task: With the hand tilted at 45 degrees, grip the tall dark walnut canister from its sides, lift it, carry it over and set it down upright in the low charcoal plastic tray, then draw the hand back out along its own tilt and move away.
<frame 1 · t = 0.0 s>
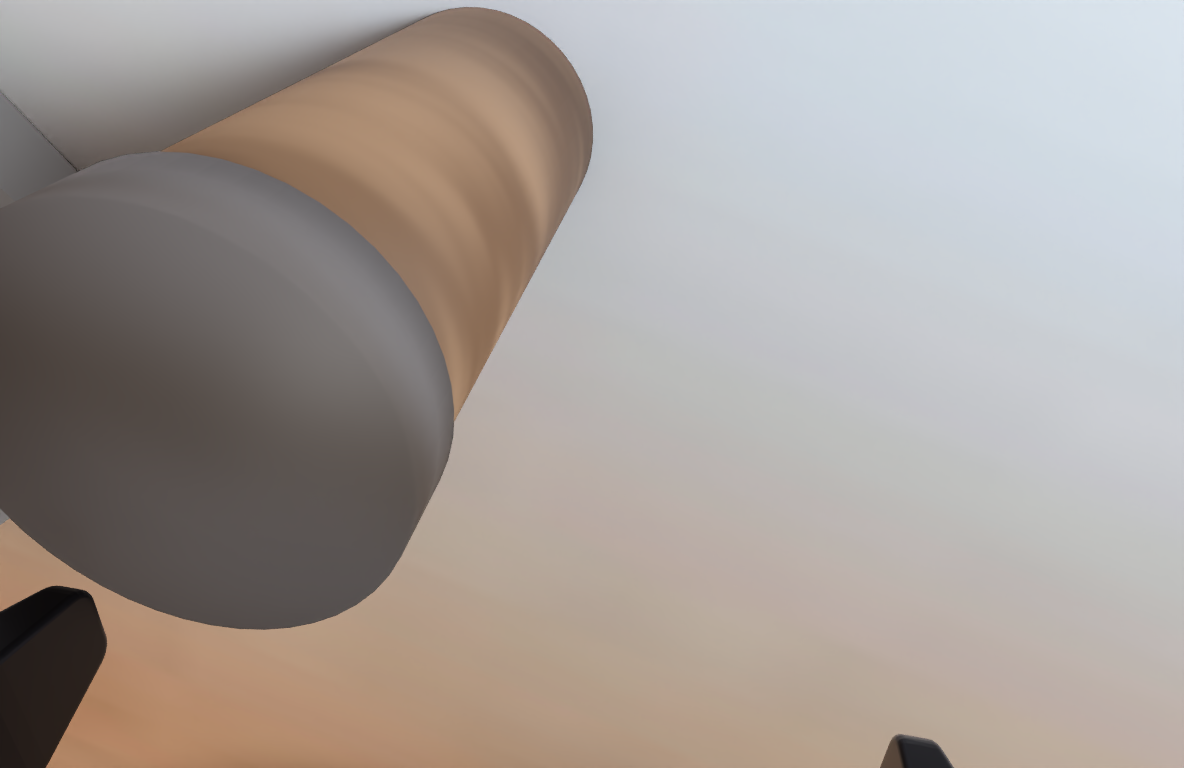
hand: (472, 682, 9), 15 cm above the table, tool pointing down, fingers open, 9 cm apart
walnut canister: (481, 129, 21), on the table
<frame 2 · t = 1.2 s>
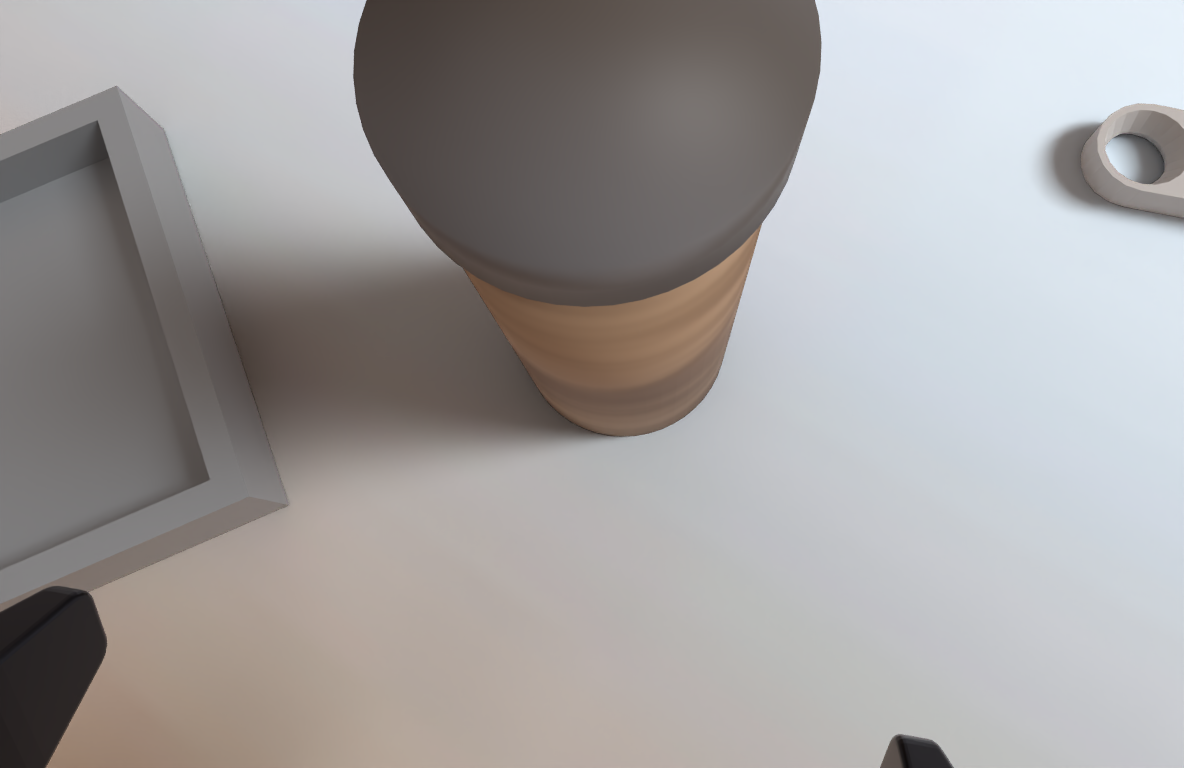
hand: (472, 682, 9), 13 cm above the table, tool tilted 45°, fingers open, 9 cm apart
tray: (38, 384, 25), on the table
walnut canister: (624, 337, 24), on the table
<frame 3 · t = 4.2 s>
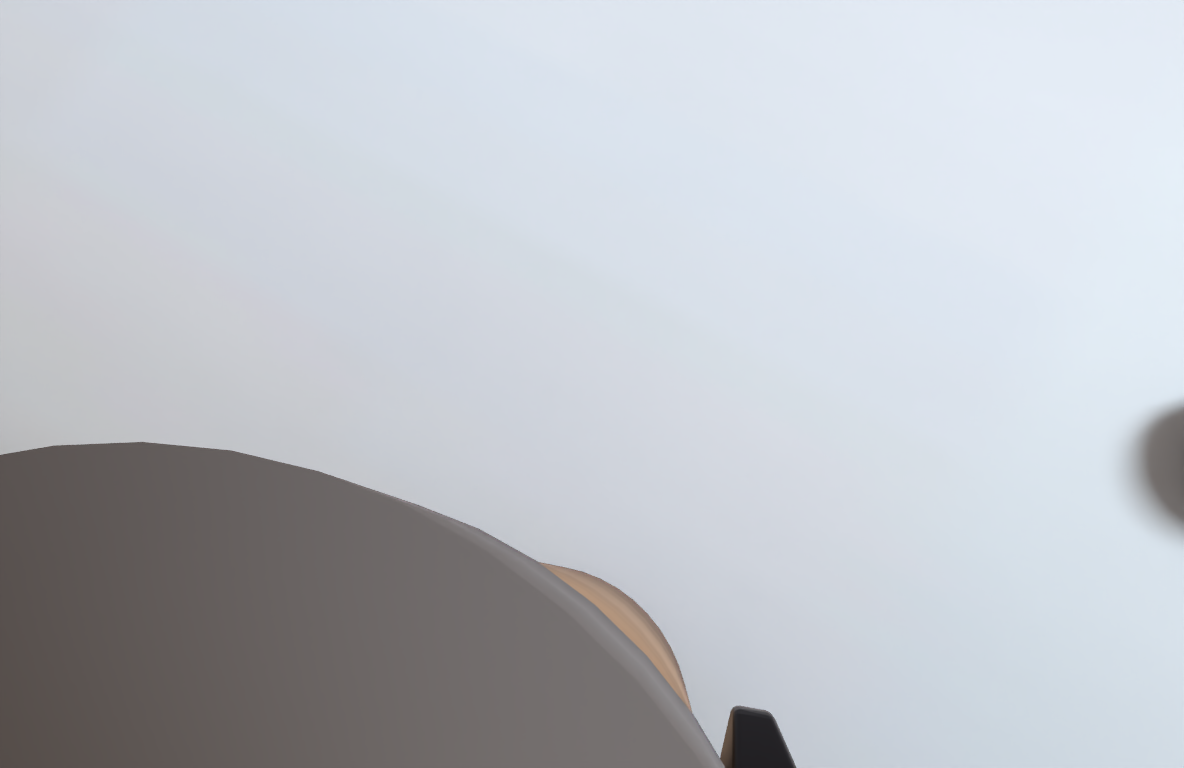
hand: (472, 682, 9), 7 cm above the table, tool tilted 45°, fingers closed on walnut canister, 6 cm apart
walnut canister: (538, 719, 16), on the table, touching gripper
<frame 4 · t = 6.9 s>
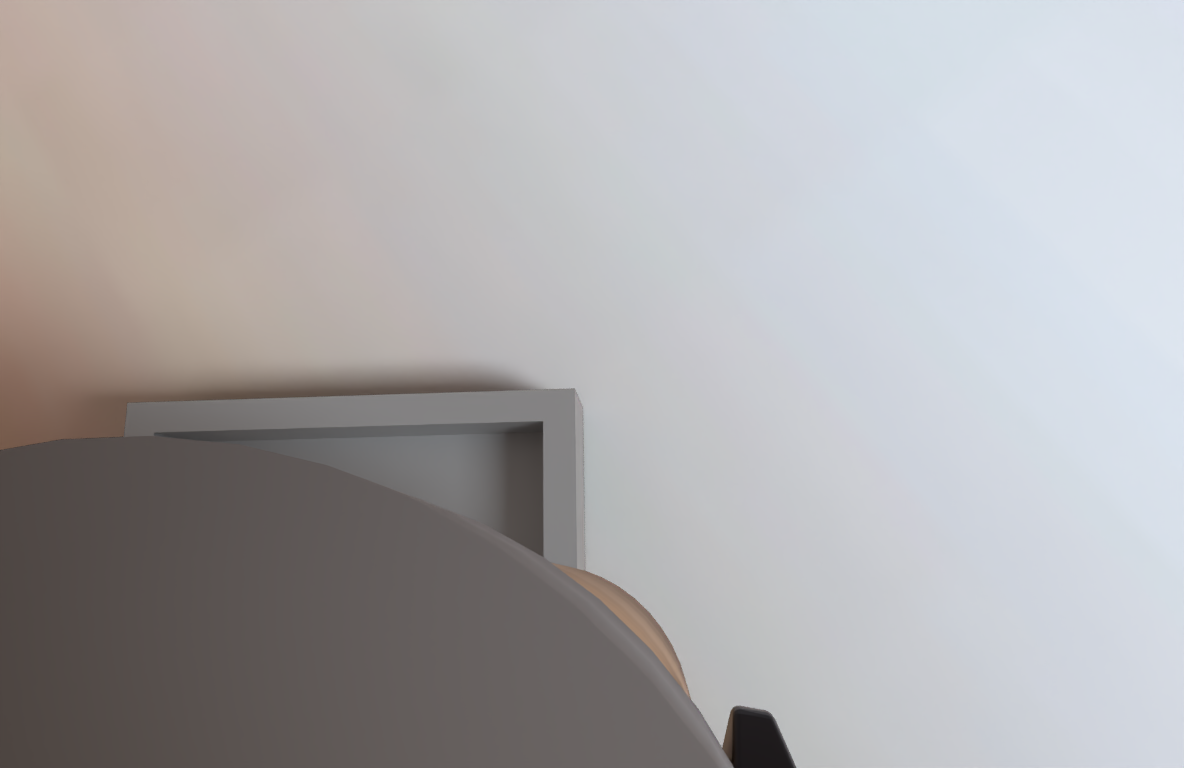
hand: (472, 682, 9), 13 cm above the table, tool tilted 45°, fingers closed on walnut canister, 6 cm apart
tray: (367, 648, 23), on the table
walnut canister: (539, 717, 16), point 6 cm above the table, touching gripper
when the fingers open (9 cm above the table, at t = 9.4 s): walnut canister stays where it is, resting on tray.
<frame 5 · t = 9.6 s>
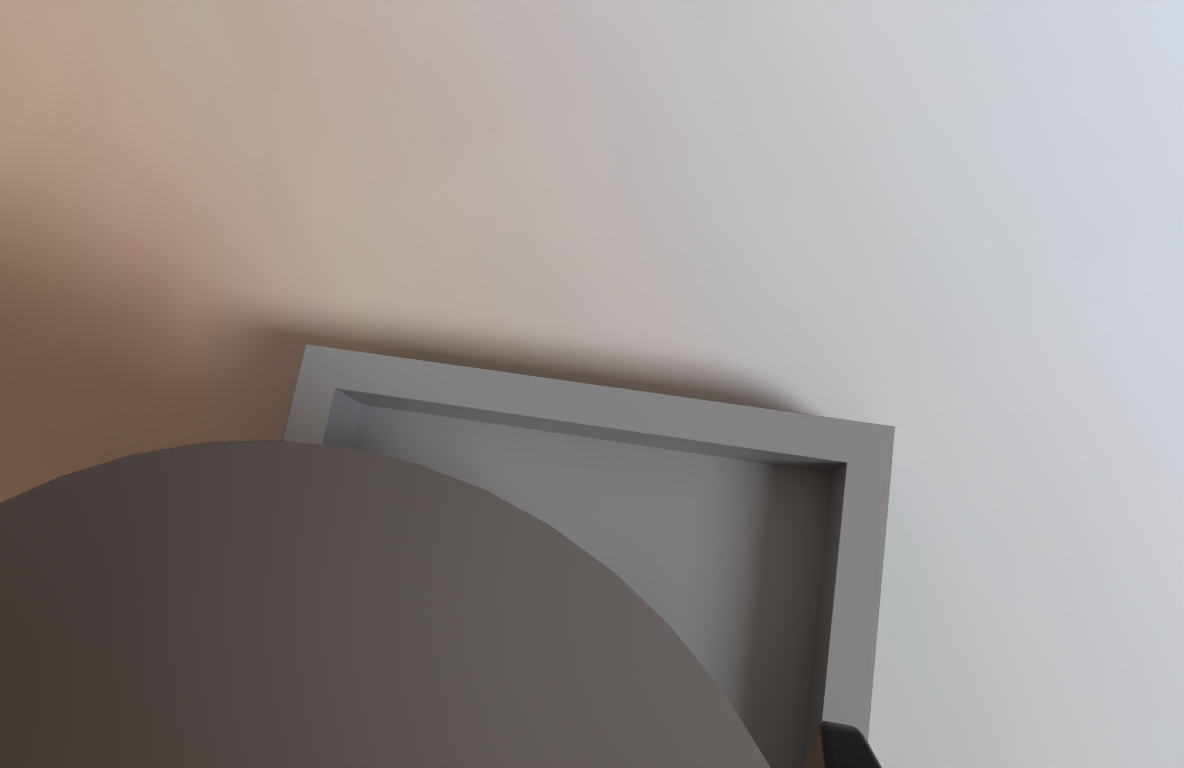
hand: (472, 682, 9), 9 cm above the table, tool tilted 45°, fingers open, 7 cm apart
tray: (549, 705, 18), on the table
walnut canister: (543, 714, 17), point 1 cm above the table, touching tray
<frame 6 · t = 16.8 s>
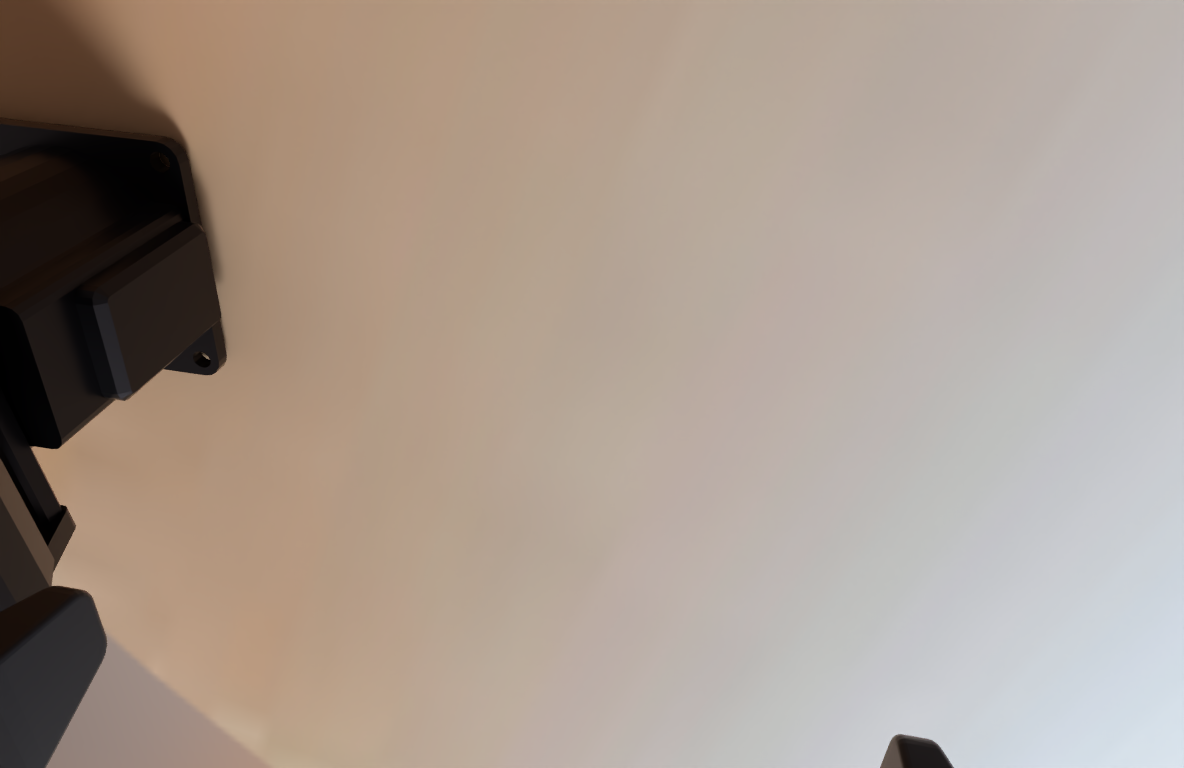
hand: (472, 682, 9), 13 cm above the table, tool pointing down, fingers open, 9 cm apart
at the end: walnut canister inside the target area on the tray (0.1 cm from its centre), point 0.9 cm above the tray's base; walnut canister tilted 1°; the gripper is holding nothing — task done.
